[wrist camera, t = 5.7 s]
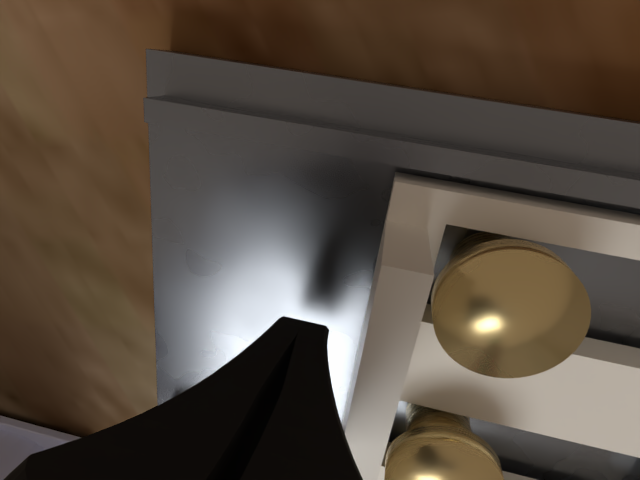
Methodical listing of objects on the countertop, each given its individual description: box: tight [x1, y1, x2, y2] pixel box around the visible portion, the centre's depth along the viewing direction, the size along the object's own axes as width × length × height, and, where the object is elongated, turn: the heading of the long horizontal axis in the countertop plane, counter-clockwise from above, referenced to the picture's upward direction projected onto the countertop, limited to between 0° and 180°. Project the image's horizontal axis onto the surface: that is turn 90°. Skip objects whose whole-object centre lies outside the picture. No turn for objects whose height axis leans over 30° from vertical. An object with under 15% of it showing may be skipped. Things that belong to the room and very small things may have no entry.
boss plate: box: [144, 49, 640, 480], centre depth 12 cm, size 18×14×4 cm
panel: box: [342, 172, 640, 480], centre depth 11 cm, size 10×10×4 cm
